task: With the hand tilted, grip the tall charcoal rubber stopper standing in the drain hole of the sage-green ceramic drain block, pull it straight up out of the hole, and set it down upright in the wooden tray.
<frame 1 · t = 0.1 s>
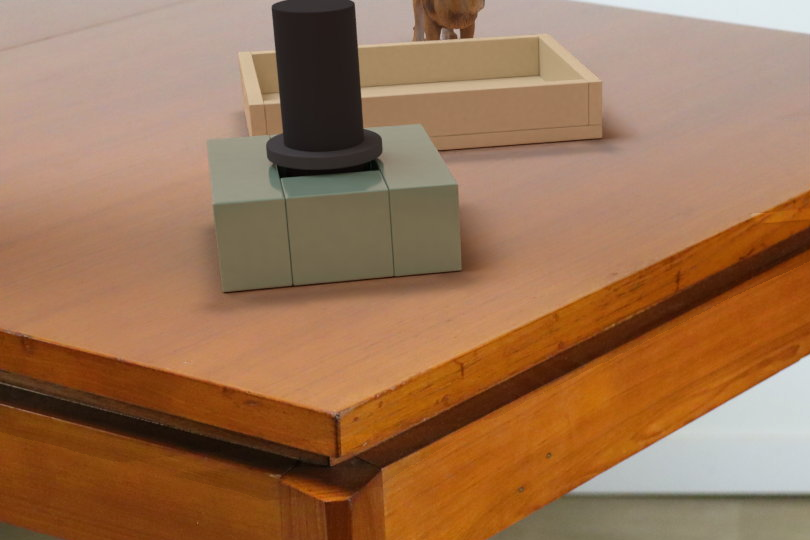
wooden tray: (415, 120, 91), on the table
lion figurine: (452, 61, 106), on the table
plug: (323, 127, 68), in a hole of the drain block
drain block: (332, 243, 71), on the table
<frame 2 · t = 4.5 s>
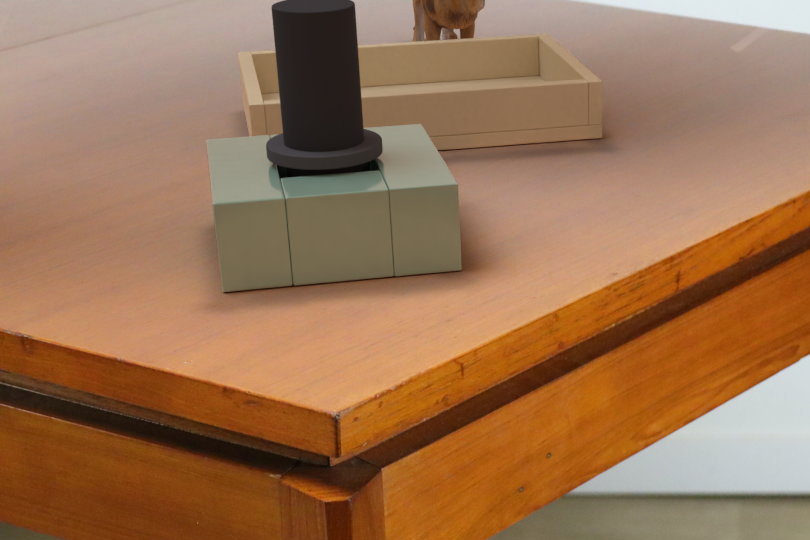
nothing on the table moved.
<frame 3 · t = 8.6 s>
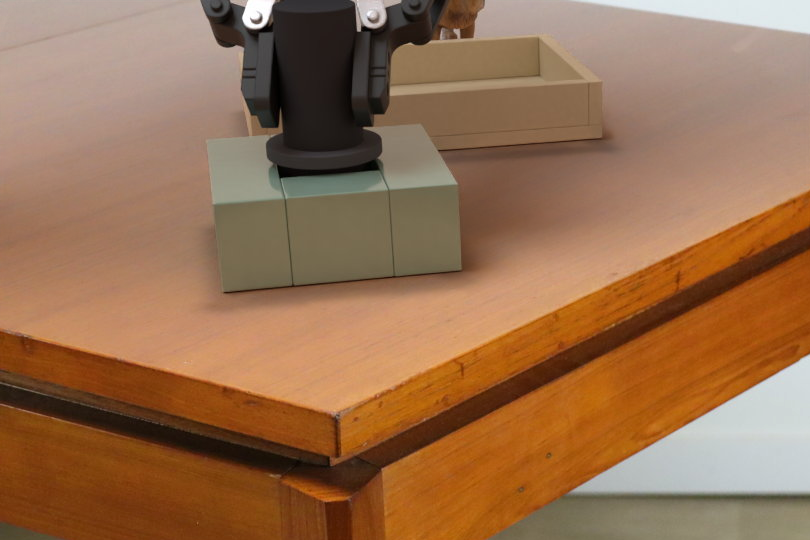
hand: (313, 117, 66), 7 cm above the table, tool tilted 45°, fingers closed on plug, 3 cm apart
plug: (323, 127, 68), in a hole of the drain block, touching gripper
everything else where it was.
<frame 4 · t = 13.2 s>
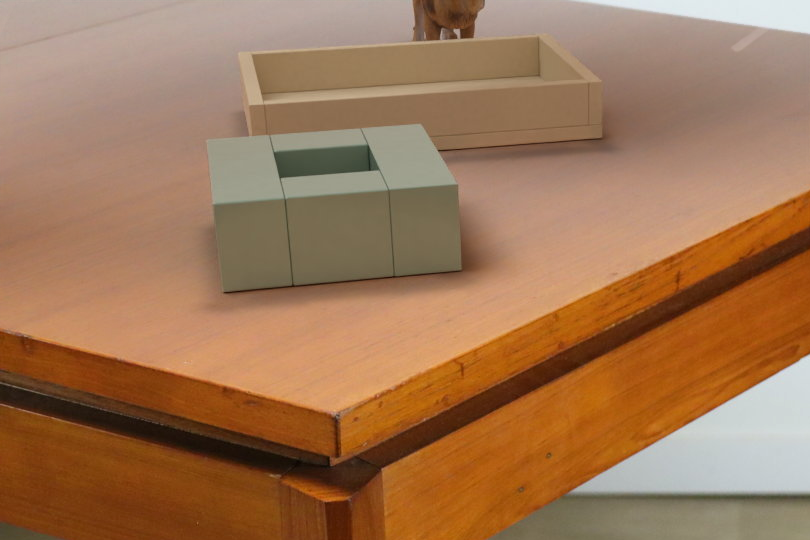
when the fingers open (7 cm above the table, at t = 18.0 s): plug stays where it is, resting on wooden tray.
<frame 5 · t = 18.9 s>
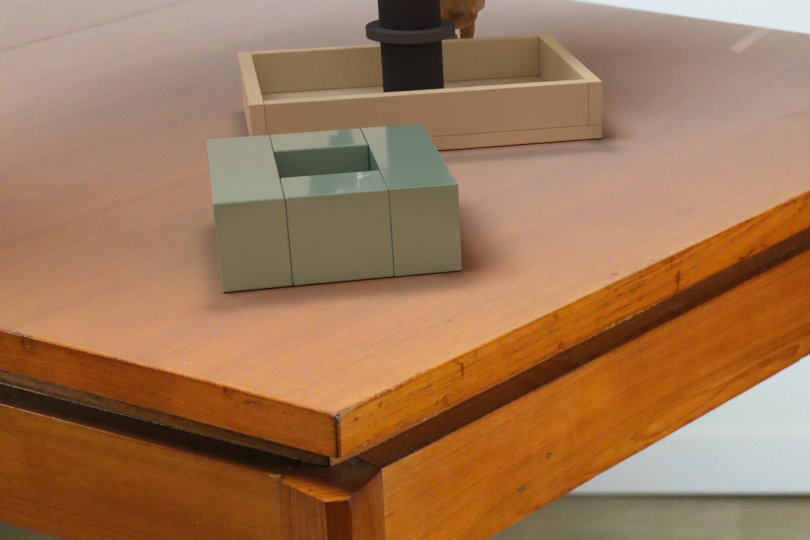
plug: (409, 14, 88), in the wooden tray, point 6 cm above the table
everything else where it was.
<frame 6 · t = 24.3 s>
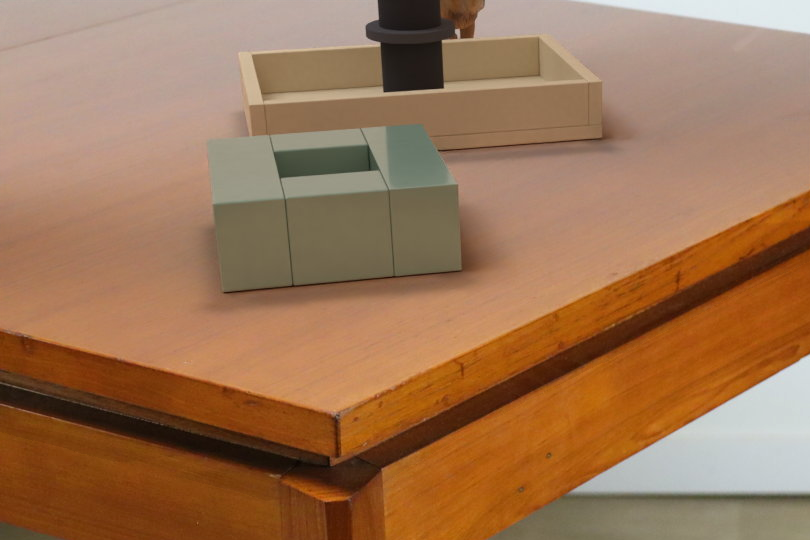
nothing on the table moved.
at the end: plug inside the target area in the wooden tray (0.1 cm from its centre), point 6.3 cm above the wooden tray's base; plug tilted 0°; the gripper is holding nothing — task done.
